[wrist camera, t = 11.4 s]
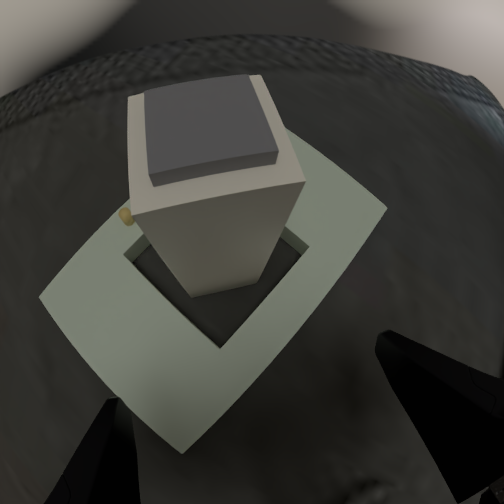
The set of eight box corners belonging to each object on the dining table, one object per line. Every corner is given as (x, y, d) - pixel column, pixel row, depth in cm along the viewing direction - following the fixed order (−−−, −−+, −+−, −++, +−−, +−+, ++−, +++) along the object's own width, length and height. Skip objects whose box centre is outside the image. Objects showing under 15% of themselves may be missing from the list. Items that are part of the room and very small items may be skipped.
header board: (186, 444, 16) (179, 461, 13) (53, 301, 18) (29, 293, 15) (376, 218, 22) (395, 200, 19) (246, 119, 24) (248, 93, 21)
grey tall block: (256, 283, 20) (311, 168, 7) (191, 298, 19) (124, 204, 6) (239, 215, 21) (257, 52, 8) (177, 228, 20) (125, 74, 8)
